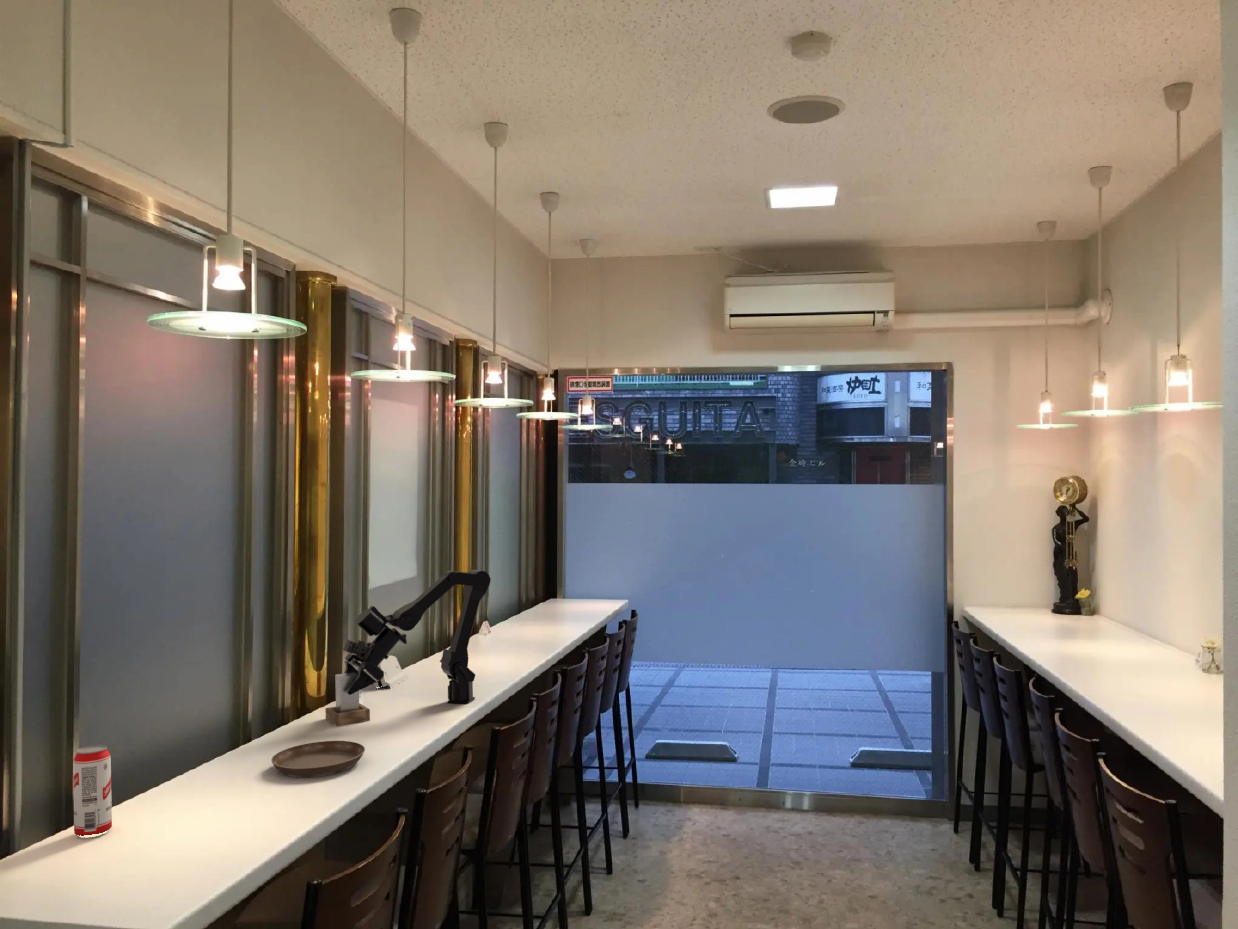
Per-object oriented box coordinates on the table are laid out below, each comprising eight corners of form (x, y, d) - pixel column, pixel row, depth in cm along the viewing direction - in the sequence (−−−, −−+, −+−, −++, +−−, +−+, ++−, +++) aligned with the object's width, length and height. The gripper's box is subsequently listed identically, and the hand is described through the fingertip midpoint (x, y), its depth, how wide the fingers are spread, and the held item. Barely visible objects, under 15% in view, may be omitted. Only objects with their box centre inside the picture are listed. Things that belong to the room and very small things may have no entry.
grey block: (354, 716, 263) (353, 672, 263) (359, 720, 258) (358, 675, 259) (336, 719, 260) (335, 674, 260) (341, 722, 256) (340, 677, 256)
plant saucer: (328, 785, 203) (327, 769, 203) (251, 777, 210) (251, 762, 210) (382, 757, 222) (382, 743, 222) (311, 751, 229) (311, 738, 229)
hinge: (390, 689, 297) (380, 659, 298) (377, 694, 298) (366, 664, 298) (408, 678, 314) (398, 650, 314) (395, 683, 314) (385, 655, 315)
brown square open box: (359, 713, 266) (359, 703, 266) (369, 720, 258) (369, 709, 258) (325, 718, 261) (325, 708, 261) (335, 725, 253) (335, 714, 253)
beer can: (71, 842, 172) (70, 755, 173) (76, 831, 178) (75, 747, 178) (110, 836, 175) (108, 750, 175) (113, 825, 180) (112, 742, 181)
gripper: (351, 624, 270) (313, 668, 264) (371, 632, 254) (331, 678, 248) (378, 648, 274) (341, 692, 268) (400, 658, 258) (361, 704, 252)
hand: (343, 691), depth 259 cm, fingers open, 9 cm apart
